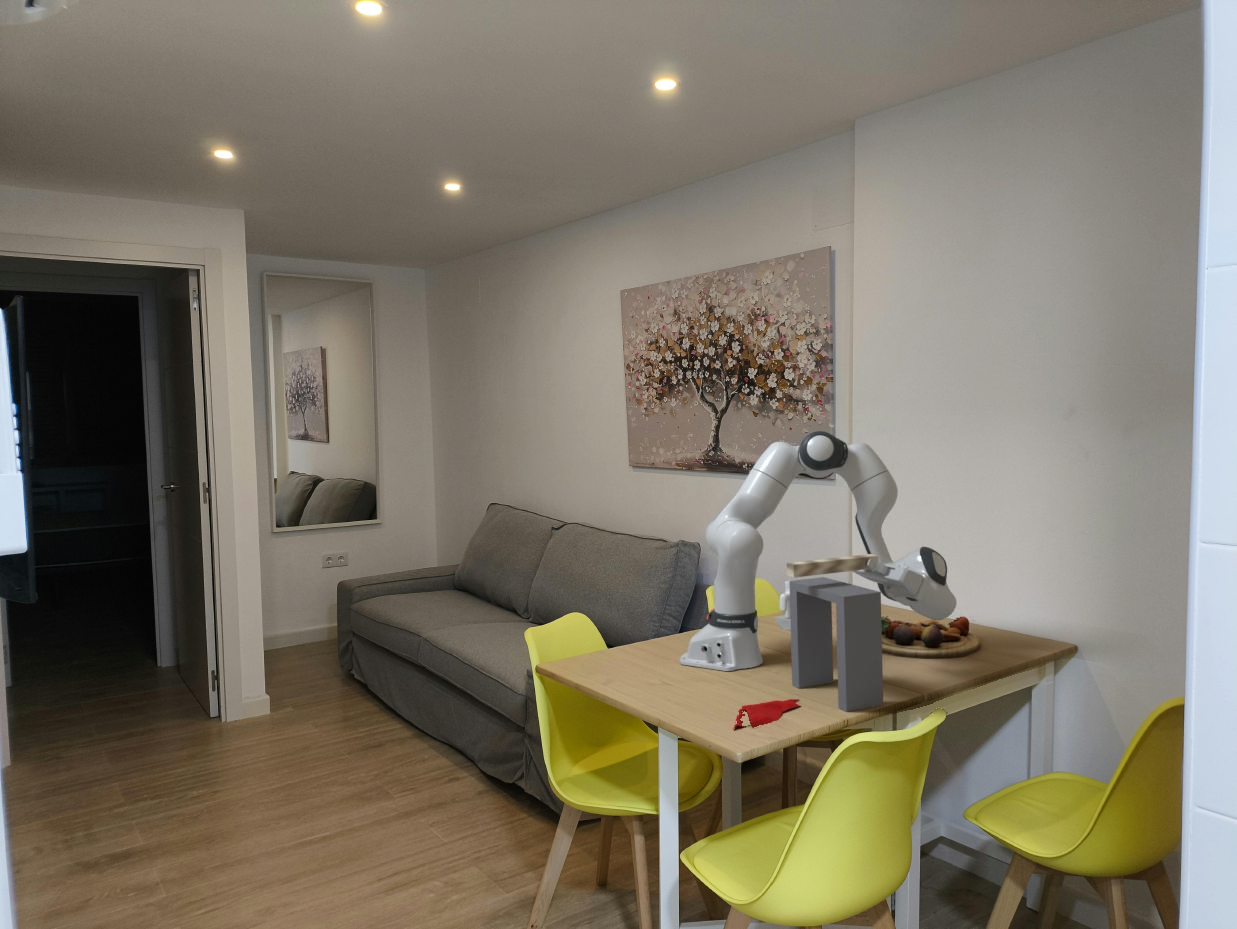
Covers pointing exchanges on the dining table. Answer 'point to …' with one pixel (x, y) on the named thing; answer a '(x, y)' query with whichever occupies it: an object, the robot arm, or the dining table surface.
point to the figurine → (785, 608)
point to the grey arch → (854, 640)
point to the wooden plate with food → (928, 639)
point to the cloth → (765, 712)
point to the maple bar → (829, 565)
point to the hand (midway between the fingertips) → (861, 560)
